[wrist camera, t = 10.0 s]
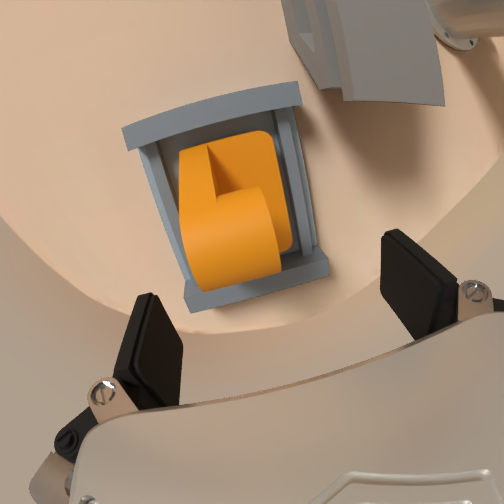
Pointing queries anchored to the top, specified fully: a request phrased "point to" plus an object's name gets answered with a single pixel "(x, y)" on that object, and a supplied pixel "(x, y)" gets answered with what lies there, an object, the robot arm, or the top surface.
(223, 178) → the bracket
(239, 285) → the grey tray
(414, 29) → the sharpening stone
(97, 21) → the top surface
